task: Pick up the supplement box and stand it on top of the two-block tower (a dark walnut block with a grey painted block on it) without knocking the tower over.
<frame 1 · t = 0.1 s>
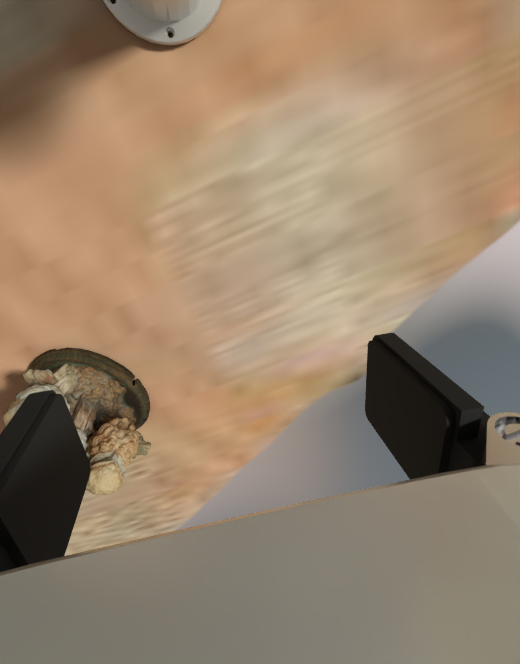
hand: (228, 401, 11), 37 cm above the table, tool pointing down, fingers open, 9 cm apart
carved figurine: (97, 391, 51), on the table
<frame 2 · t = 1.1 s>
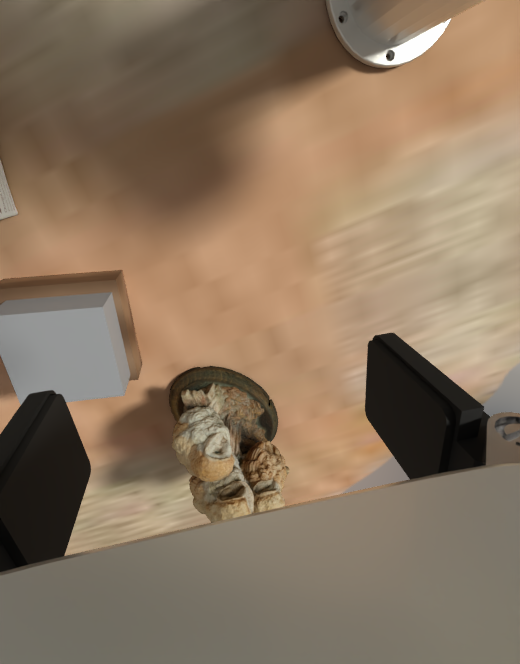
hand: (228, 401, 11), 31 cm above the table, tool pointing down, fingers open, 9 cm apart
grey top block: (72, 340, 38), point 3 cm above the table, touching walnut base block
carved figurine: (228, 410, 50), on the table
walnut base block: (80, 323, 41), on the table, touching grey top block
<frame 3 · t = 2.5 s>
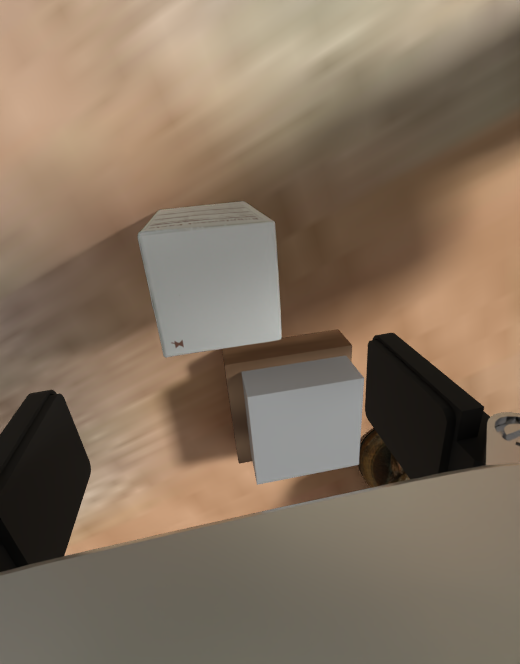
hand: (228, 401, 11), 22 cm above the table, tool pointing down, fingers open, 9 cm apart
grey top block: (296, 406, 35), point 4 cm above the table, touching walnut base block
supplement box: (207, 246, 31), on the table
carved figurine: (410, 460, 47), on the table
walnut base block: (283, 385, 39), on the table, touching grey top block
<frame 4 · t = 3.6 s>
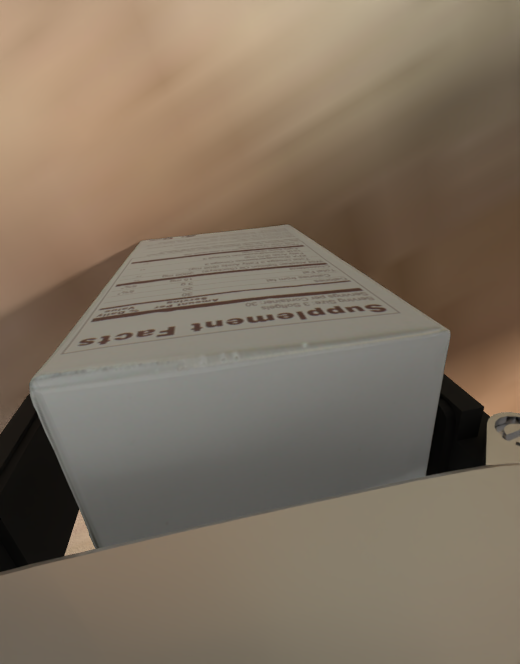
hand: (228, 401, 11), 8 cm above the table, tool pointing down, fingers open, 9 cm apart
supplement box: (224, 298, 19), on the table
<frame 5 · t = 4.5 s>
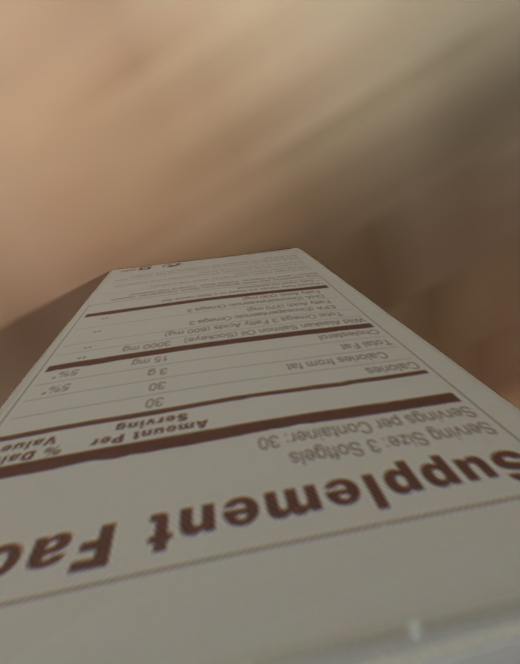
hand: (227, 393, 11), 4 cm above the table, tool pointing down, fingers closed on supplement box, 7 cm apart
supplement box: (218, 337, 15), on the table, touching gripper
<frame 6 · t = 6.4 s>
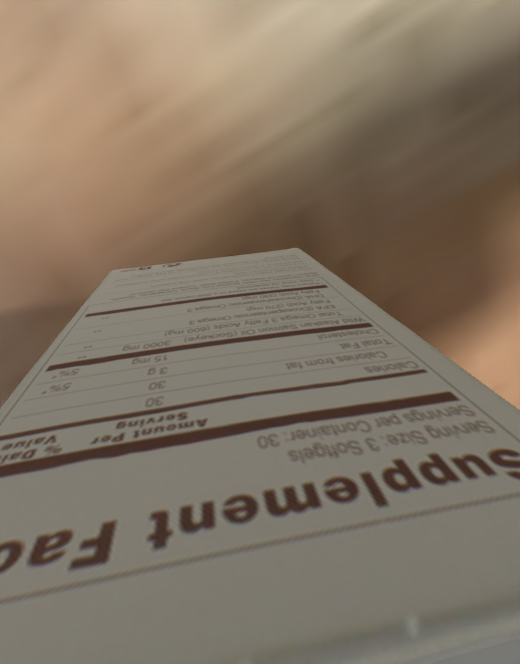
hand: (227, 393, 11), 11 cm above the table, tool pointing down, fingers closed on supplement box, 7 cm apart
supplement box: (218, 337, 15), point 7 cm above the table, touching gripper
when the fingers open (13 cm above the table, at t = 11.5 s): supplement box drops 2 cm, resting on grey top block.
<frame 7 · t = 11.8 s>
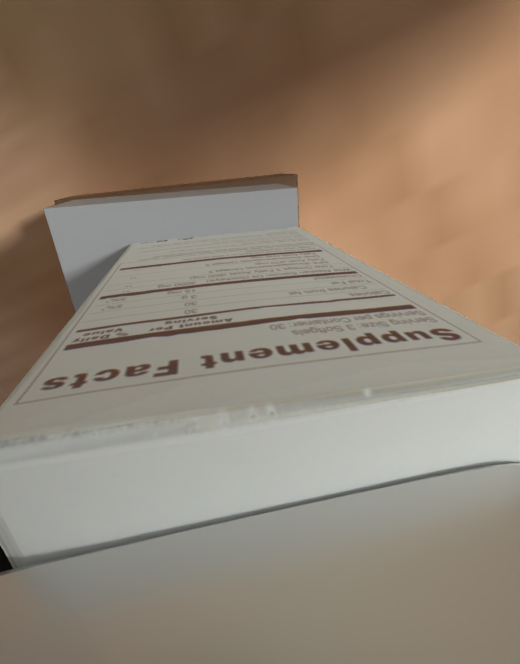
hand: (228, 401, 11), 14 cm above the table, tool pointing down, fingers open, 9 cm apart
grey top block: (193, 286, 20), point 3 cm above the table, touching supplement box, walnut base block
supplement box: (224, 308, 17), point 7 cm above the table, touching grey top block
walnut base block: (198, 280, 24), on the table, touching grey top block
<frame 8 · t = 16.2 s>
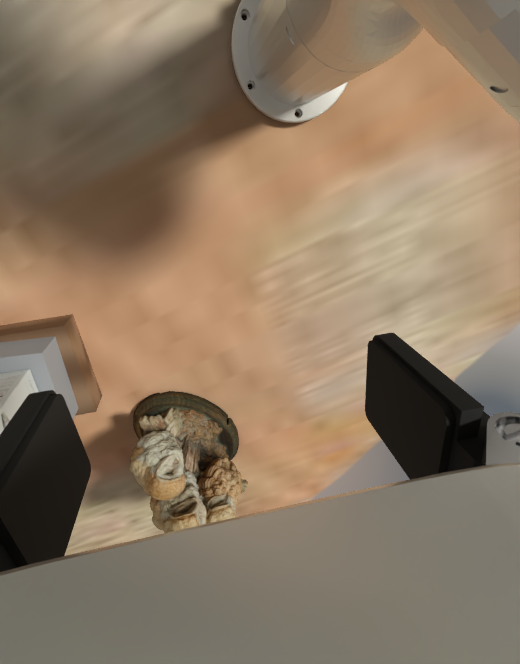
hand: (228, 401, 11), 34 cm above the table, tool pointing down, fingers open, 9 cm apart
grey top block: (22, 379, 42), point 3 cm above the table, touching supplement box, walnut base block
supplement box: (8, 400, 39), point 7 cm above the table, touching grey top block
carved figurine: (191, 430, 54), on the table
walnut base block: (40, 363, 46), on the table, touching grey top block
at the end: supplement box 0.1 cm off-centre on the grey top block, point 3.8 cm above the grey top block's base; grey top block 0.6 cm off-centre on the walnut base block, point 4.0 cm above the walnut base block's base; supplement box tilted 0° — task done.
